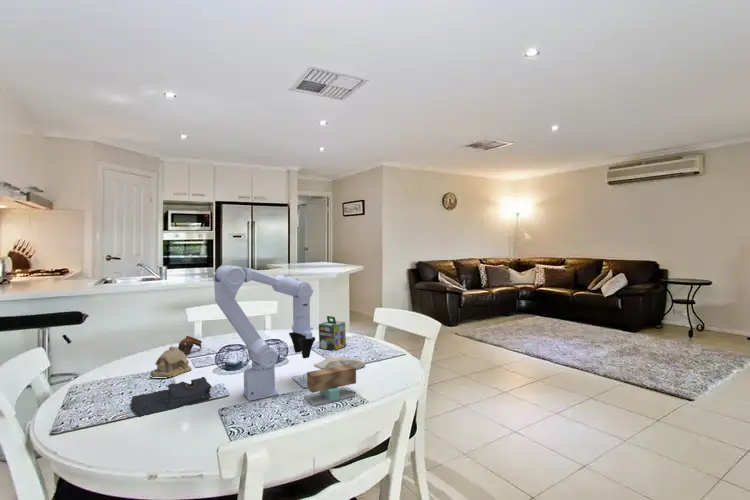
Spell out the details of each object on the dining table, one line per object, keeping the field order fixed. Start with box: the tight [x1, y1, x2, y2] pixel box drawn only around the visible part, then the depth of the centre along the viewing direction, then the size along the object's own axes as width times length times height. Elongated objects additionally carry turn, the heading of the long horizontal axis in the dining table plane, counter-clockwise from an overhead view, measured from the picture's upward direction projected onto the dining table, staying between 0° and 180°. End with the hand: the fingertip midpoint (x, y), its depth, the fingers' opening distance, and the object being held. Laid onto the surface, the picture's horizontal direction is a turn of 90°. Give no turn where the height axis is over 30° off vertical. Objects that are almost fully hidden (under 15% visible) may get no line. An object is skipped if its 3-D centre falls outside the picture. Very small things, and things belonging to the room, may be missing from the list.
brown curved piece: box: [177, 335, 203, 354], centre depth 172 cm, size 12×10×8 cm
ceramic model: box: [149, 345, 192, 378], centre depth 146 cm, size 14×11×10 cm
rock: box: [313, 355, 366, 370], centre depth 150 cm, size 21×5×15 cm
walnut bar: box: [306, 364, 357, 394], centre depth 123 cm, size 15×4×5 cm, turn 121°
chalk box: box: [318, 315, 347, 351], centre depth 179 cm, size 9×9×15 cm
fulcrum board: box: [303, 386, 356, 407], centre depth 123 cm, size 14×8×4 cm, turn 121°
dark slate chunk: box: [130, 376, 212, 417], centre depth 121 cm, size 15×22×5 cm
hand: (301, 354), depth 135 cm, fingers open, 7 cm apart
